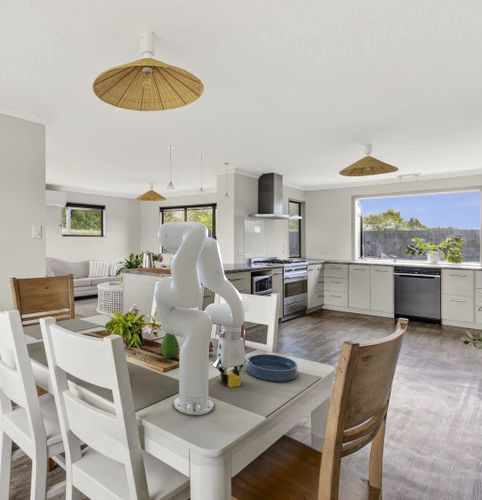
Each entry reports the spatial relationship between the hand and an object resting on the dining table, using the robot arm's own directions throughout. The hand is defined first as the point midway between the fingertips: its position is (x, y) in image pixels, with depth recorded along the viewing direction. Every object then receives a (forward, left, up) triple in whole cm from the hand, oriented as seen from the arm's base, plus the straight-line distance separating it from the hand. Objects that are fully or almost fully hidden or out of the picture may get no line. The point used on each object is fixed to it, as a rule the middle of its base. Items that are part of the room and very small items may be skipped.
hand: (230, 382), depth 136 cm
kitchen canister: (+45, -6, -1) cm, 45 cm away
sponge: (0, 0, 0) cm, 0 cm away
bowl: (+12, -18, 0) cm, 22 cm away
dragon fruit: (+30, +9, -1) cm, 31 cm away
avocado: (+25, +24, -1) cm, 35 cm away
